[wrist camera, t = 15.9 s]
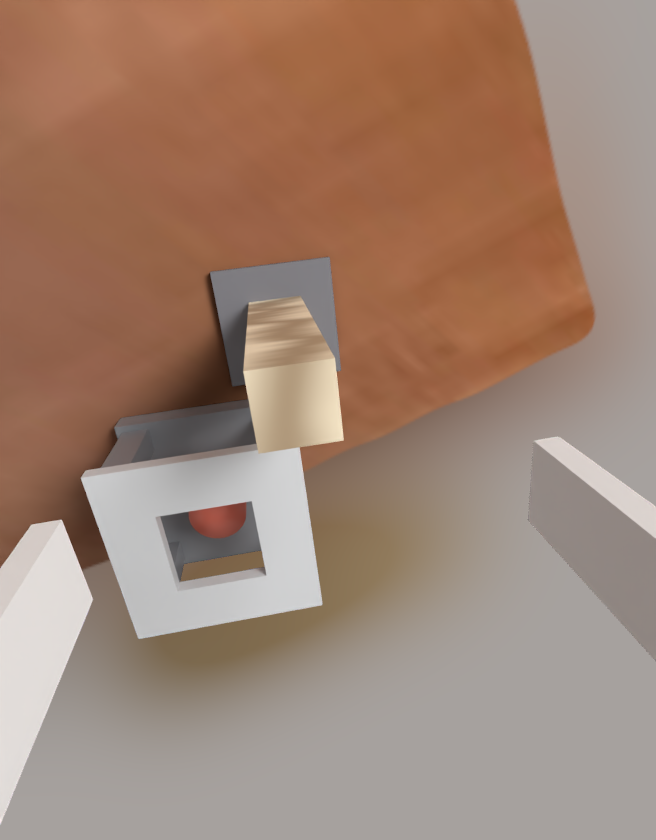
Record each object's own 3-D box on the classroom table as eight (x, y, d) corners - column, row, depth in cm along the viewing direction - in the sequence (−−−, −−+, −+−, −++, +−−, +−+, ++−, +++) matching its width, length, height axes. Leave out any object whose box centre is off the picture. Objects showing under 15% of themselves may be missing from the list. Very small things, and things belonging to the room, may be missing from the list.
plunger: (202, 505, 44) (195, 542, 39) (191, 462, 42) (182, 495, 37) (251, 497, 44) (250, 533, 39) (242, 454, 42) (240, 486, 37)
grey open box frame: (161, 554, 46) (138, 639, 37) (120, 418, 40) (80, 477, 31) (309, 528, 47) (322, 604, 38) (289, 393, 41) (298, 443, 32)
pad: (232, 384, 40) (232, 386, 40) (210, 271, 37) (209, 272, 36) (339, 368, 41) (341, 370, 40) (328, 256, 37) (329, 257, 37)
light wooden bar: (257, 352, 39) (258, 453, 22) (248, 302, 37) (243, 371, 21) (306, 346, 39) (343, 440, 23) (300, 295, 38) (334, 358, 21)
